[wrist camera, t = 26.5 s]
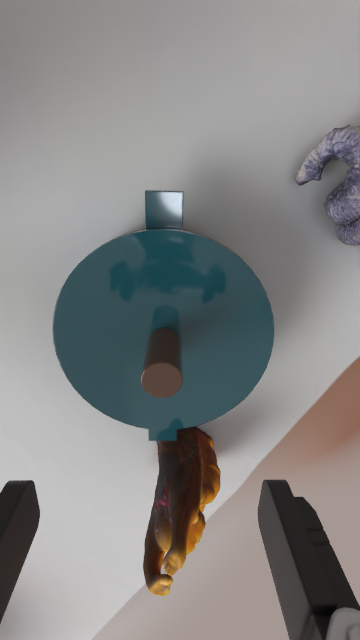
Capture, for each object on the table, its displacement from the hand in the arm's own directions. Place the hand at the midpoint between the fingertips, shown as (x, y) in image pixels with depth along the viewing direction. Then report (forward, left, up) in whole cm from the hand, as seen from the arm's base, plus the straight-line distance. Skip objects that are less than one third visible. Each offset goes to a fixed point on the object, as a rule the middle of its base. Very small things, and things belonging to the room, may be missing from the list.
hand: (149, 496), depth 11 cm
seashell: (+14, +10, -18) cm, 25 cm away
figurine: (+2, -15, -18) cm, 24 cm away
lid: (0, 0, -13) cm, 13 cm away
